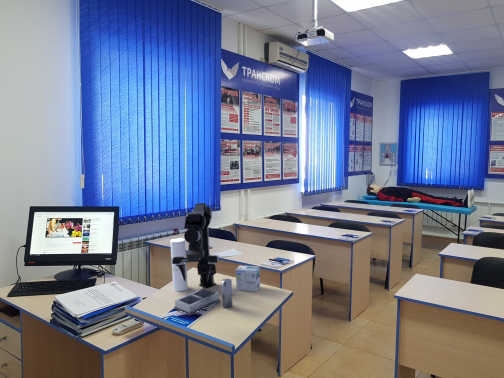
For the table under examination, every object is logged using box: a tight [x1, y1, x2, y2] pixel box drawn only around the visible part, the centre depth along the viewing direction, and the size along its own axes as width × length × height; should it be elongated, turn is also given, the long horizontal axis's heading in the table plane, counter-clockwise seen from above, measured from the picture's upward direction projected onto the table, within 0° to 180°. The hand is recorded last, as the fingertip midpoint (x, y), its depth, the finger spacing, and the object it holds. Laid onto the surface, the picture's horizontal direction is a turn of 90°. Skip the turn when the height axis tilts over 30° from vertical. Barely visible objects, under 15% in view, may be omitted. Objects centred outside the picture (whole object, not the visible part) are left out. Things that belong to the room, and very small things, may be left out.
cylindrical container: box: [169, 237, 189, 292], centre depth 187 cm, size 7×7×25 cm
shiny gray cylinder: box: [221, 278, 234, 310], centre depth 165 cm, size 4×4×12 cm
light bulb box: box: [235, 264, 261, 292], centre depth 185 cm, size 11×7×11 cm, turn 74°
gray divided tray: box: [173, 287, 222, 316], centre depth 168 cm, size 18×11×4 cm, turn 140°
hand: (195, 280), depth 156 cm, fingers open, 9 cm apart
